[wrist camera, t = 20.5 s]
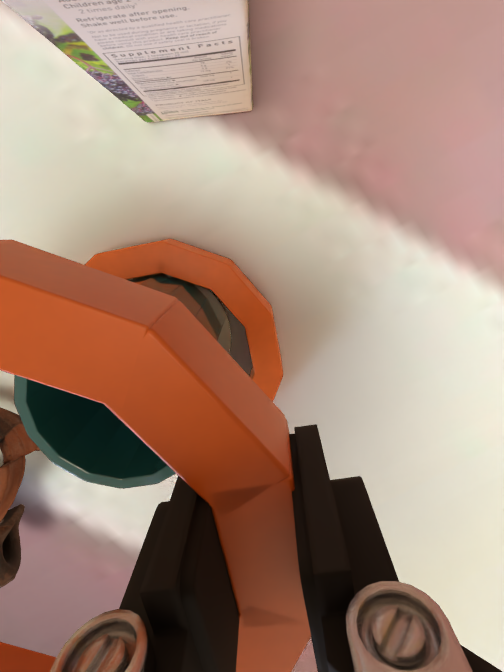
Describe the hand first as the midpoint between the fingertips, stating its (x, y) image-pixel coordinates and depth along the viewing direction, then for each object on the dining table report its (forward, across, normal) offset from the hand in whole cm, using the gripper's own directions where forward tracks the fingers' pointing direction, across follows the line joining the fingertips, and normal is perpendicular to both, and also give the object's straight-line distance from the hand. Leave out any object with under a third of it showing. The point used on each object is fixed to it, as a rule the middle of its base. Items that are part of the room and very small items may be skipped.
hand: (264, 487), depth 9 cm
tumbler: (+15, +6, 0) cm, 16 cm away
